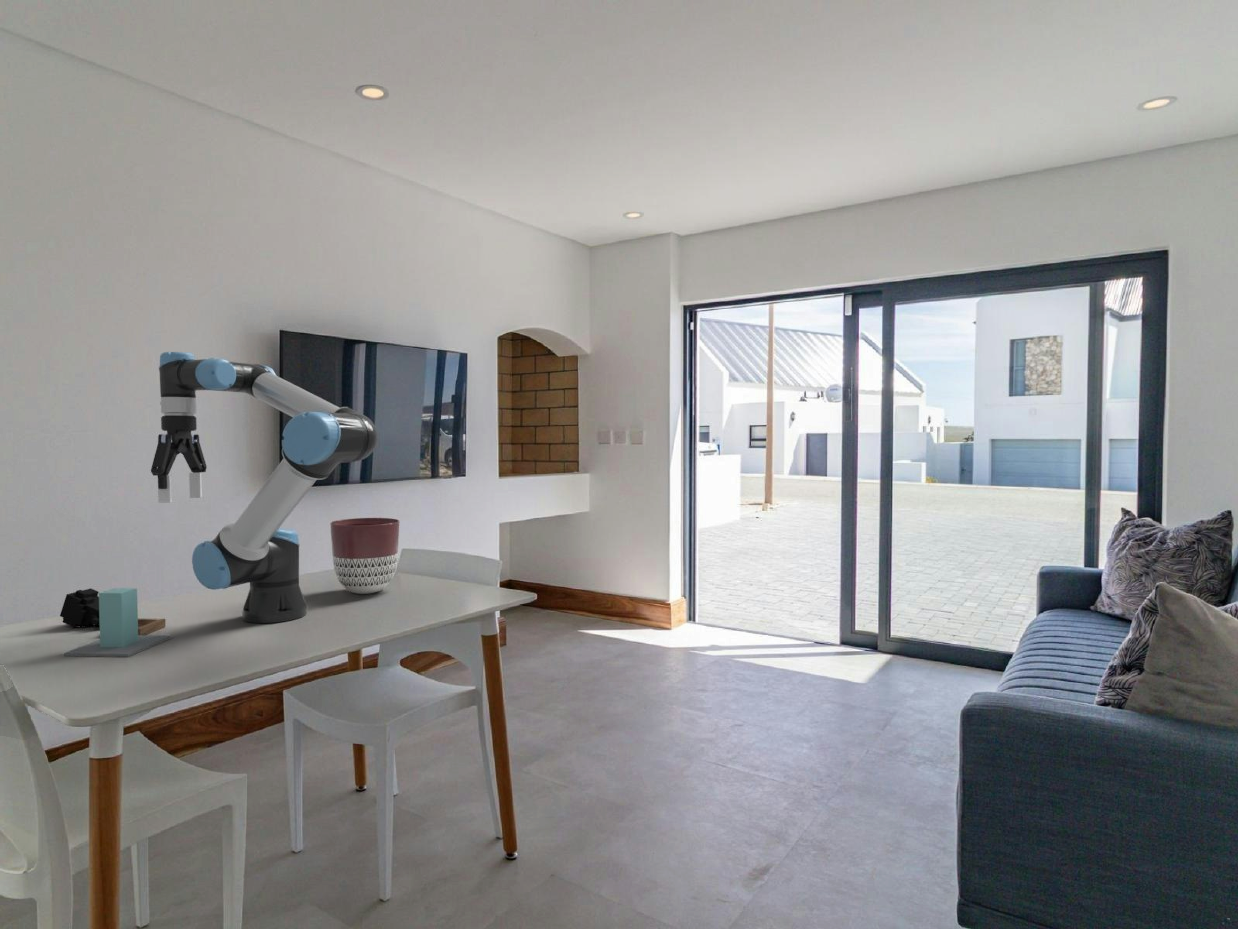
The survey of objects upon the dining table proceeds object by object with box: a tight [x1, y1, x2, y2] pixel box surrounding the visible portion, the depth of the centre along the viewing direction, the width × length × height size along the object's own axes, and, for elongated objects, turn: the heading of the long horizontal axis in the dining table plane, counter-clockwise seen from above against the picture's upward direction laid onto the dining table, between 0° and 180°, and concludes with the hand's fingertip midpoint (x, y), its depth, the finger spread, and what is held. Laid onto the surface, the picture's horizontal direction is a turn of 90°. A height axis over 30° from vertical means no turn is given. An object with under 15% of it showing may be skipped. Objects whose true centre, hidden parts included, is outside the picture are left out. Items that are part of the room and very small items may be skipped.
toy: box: [59, 588, 100, 629], centre depth 178 cm, size 9×8×15 cm
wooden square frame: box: [138, 617, 166, 635], centre depth 173 cm, size 9×9×2 cm
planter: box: [330, 517, 400, 595], centre depth 217 cm, size 20×20×21 cm
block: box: [98, 587, 139, 647], centre depth 161 cm, size 5×5×12 cm
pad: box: [63, 634, 172, 658], centre depth 161 cm, size 14×14×1 cm
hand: (181, 500), depth 180 cm, fingers open, 13 cm apart
